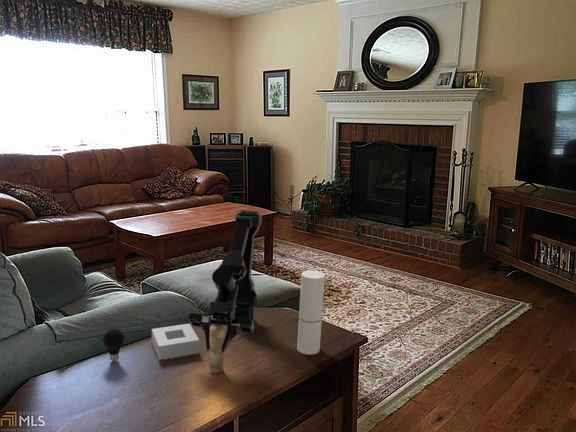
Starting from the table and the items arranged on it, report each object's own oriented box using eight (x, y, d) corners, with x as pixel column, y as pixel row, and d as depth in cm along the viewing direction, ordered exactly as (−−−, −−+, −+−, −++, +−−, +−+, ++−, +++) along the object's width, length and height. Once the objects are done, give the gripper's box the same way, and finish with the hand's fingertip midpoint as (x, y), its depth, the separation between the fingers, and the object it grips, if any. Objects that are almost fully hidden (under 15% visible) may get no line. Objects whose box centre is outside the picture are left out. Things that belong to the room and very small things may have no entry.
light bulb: (99, 362, 137) (97, 330, 135) (115, 354, 142) (114, 323, 140) (113, 368, 135) (112, 335, 132) (129, 359, 140) (128, 328, 138)
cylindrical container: (319, 344, 155) (325, 271, 149) (319, 355, 148) (324, 279, 142) (298, 342, 155) (302, 269, 150) (296, 353, 148) (300, 277, 143)
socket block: (189, 336, 156) (189, 323, 155) (199, 353, 145) (199, 339, 144) (151, 342, 151) (151, 329, 150) (159, 360, 140) (158, 346, 139)
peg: (220, 365, 139) (221, 323, 136) (224, 371, 136) (225, 329, 133) (207, 367, 137) (207, 325, 135) (211, 374, 134) (212, 331, 131)
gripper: (189, 285, 136) (175, 338, 128) (253, 291, 134) (243, 345, 126) (198, 300, 146) (185, 350, 137) (257, 306, 143) (249, 358, 135)
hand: (215, 351), depth 134 cm, fingers closed on peg, 4 cm apart
